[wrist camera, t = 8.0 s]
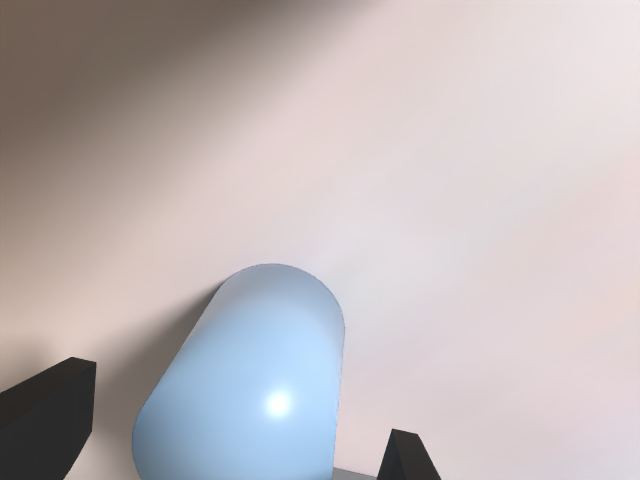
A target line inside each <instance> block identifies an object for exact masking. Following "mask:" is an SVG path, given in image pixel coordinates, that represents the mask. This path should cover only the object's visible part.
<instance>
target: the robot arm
mask: <svg viewBox="0 0 640 480" xmlns="http://www.w3.org/2000/svg"><path fill="white" fill-rule="evenodd" d="M96 363H97V362H93V361H88V360H84V359H79V358H75V357H70V358H68V359H66V360H64V361H62V362H60V363H58V364H56V365H54V366H52V367H50V368H48V369H47V370H45V371H43V372H41V373H39V374H37V375H35V376H33V377H31V378H29V379H27V380H25V381H24V382H22V383H20V384H18V385H16V386H14V387H12V388H10V389H8V390H6V391H4V392H2V393H0V480H63V479H64V478H65V476H66V475H67V474H68V472H69V471H70V469H71V467H72V466H73V464H74V462H75V461H76V459H77V457H78V455H79V454H80V452H81V450H82V448H83V447H84V445H85V443H86V441H87V439H88V437H89V436H90V434H91V432H92V422H93V407H94V392H95V378H96ZM377 480H441V478H440V476H439V474H438V472H437V470H436V469H435V467H434V465H433V463H432V461H431V459H430V457H429V455H428V453H427V451H426V449H425V447H424V445H423V443H422V441H421V439H420V437H419V436H418V434H415V433H410V432H406V431H401V430H397V429H392V431H391V434H390V437H389V441H388V444H387V447H386V451H385V454H384V457H383V460H382V464H381V467H380V470H379V473H378V477H377Z"/></svg>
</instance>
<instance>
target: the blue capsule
mask: <svg viewBox="0 0 640 480" xmlns="http://www.w3.org/2000/svg"><path fill="white" fill-rule="evenodd" d="M344 335H345V325H344V318H343V314H342V311H341V308H340V306H339V304H338V302H337V300H336V299H335V297H334V295H333V294H332V293H331V291H330V290H329V289H328V288H327V287H326V286H325V285H324V284H323V283H322V282H321V281H319V280H318V279H317V278H315V277H314V276H312V275H311V274H309V273H307V272H305V271H303V270H301V269H298V268H295V267H292V266H288V265H282V264H260V265H256V266H251V267H248V268H246V269H243V270H241V271H239V272H237V273H235V274H234V275H232V276H231V277H230V278H228V279H227V280H226V281H225V282H224V283H223V284H222V285H221V286H220V288H219V289H218V290H217V292H216V293H215V295H214V296H213V298H212V300H211V301H210V303H209V304H208V306H207V307H206V309H205V311H204V312H203V314H202V315H201V317H200V318H199V320H198V321H197V323H196V325H195V326H194V328H193V329H192V331H191V332H190V334H189V335H188V337H187V339H186V340H185V342H184V343H183V345H182V346H181V348H180V350H179V351H178V353H177V354H176V356H175V357H174V359H173V360H172V362H171V364H170V365H169V367H168V368H167V370H166V371H165V373H164V374H163V376H162V378H161V379H160V381H159V382H158V384H157V385H156V387H155V389H154V390H153V392H152V393H151V395H150V396H149V398H148V399H147V401H146V403H145V404H144V406H143V407H142V409H141V411H140V413H139V414H138V416H137V419H136V422H135V425H134V429H133V434H132V452H133V459H134V462H135V465H136V469H137V471H138V473H139V475H140V478H141V479H142V480H331V477H332V471H333V460H334V449H335V437H336V426H337V415H338V403H339V392H340V381H341V369H342V358H343V346H344Z"/></svg>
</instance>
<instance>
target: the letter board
mask: <svg viewBox="0 0 640 480" xmlns="http://www.w3.org/2000/svg"><path fill="white" fill-rule="evenodd" d="M331 480H377V478H376V477H372V476H367V475H363V474H358V473H354V472H350V471H345V470H341V469H337V468H333V471H332V477H331Z"/></svg>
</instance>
